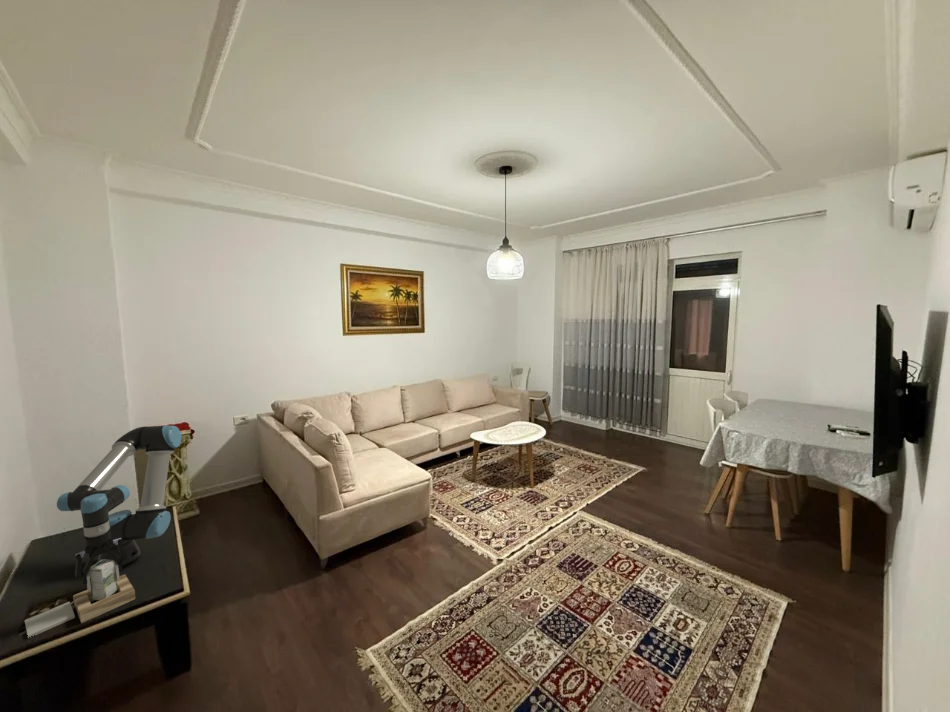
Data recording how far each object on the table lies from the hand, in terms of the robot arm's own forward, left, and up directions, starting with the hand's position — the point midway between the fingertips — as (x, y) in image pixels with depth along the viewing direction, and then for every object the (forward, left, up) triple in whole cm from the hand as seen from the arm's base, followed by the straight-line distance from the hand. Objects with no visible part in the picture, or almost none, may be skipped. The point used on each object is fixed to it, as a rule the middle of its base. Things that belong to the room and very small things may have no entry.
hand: (103, 583), depth 157 cm
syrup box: (0, 0, -6) cm, 6 cm away
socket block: (0, 0, -8) cm, 8 cm away
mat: (-4, -15, -8) cm, 18 cm away
